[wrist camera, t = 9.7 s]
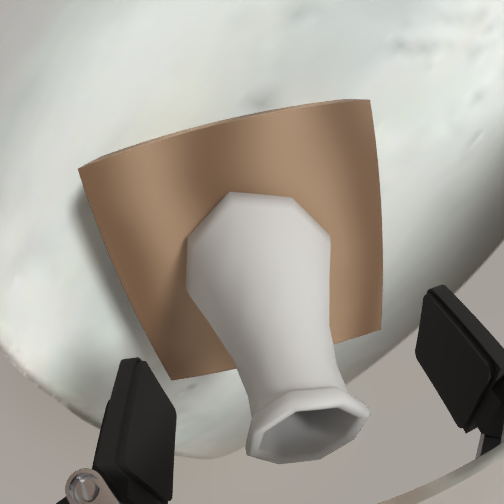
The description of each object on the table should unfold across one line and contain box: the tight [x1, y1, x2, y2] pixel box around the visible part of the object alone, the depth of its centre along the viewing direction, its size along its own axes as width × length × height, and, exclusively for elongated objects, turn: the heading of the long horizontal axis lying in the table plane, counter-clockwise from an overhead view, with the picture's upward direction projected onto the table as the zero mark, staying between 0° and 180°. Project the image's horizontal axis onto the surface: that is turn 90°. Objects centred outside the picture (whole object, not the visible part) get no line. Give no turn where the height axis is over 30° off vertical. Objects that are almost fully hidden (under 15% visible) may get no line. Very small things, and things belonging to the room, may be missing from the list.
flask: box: [186, 192, 370, 464], centre depth 12 cm, size 7×7×10 cm
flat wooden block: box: [78, 99, 383, 380], centre depth 18 cm, size 14×14×4 cm
